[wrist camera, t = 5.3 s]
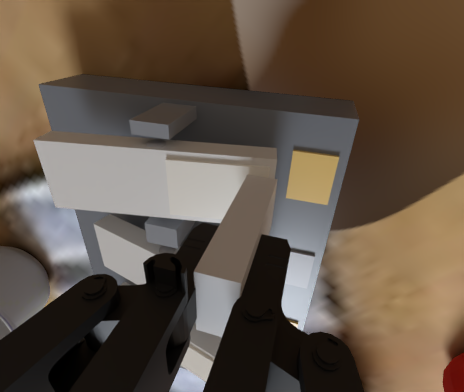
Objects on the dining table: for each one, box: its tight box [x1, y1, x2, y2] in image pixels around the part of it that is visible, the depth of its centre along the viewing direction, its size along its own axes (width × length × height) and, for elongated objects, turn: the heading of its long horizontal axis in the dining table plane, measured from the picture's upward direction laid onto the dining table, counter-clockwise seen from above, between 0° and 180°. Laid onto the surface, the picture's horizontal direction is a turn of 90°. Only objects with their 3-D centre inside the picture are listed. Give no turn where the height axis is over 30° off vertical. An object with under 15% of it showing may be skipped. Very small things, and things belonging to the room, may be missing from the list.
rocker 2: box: [94, 214, 180, 285], centre depth 19 cm, size 4×12×2 cm, turn 88°
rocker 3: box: [121, 282, 222, 382], centre depth 23 cm, size 4×12×2 cm, turn 89°
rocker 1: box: [34, 131, 277, 223], centre depth 16 cm, size 4×12×2 cm, turn 88°
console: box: [39, 74, 359, 369], centre depth 22 cm, size 21×19×8 cm
